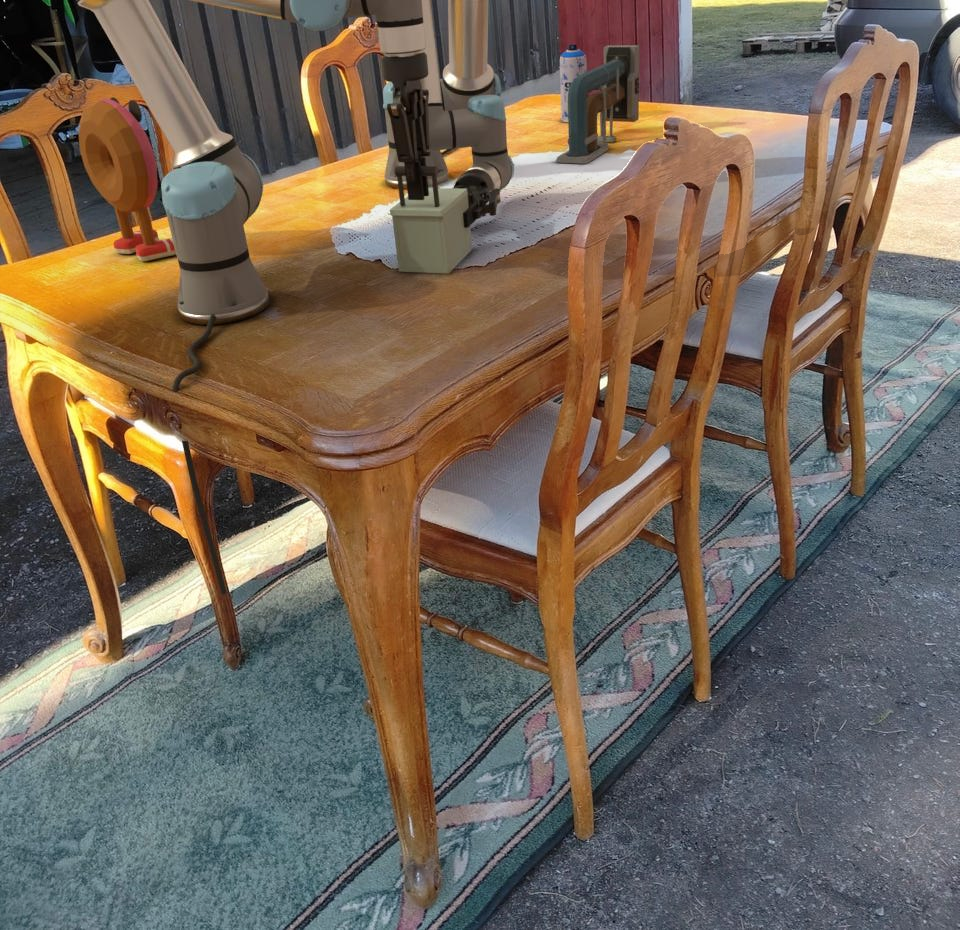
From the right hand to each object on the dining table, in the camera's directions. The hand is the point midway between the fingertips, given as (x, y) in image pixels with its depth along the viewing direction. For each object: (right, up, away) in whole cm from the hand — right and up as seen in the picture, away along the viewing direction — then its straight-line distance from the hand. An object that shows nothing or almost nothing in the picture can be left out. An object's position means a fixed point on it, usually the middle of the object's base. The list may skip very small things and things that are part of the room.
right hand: (438, 219), depth 179 cm
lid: (-1, +1, -5) cm, 5 cm away
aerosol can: (+35, +54, +99) cm, 118 cm away
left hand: (-3, +1, -10) cm, 10 cm away
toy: (-60, -2, +18) cm, 63 cm away
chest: (-1, -7, +1) cm, 7 cm away
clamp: (+38, +36, +68) cm, 86 cm away
